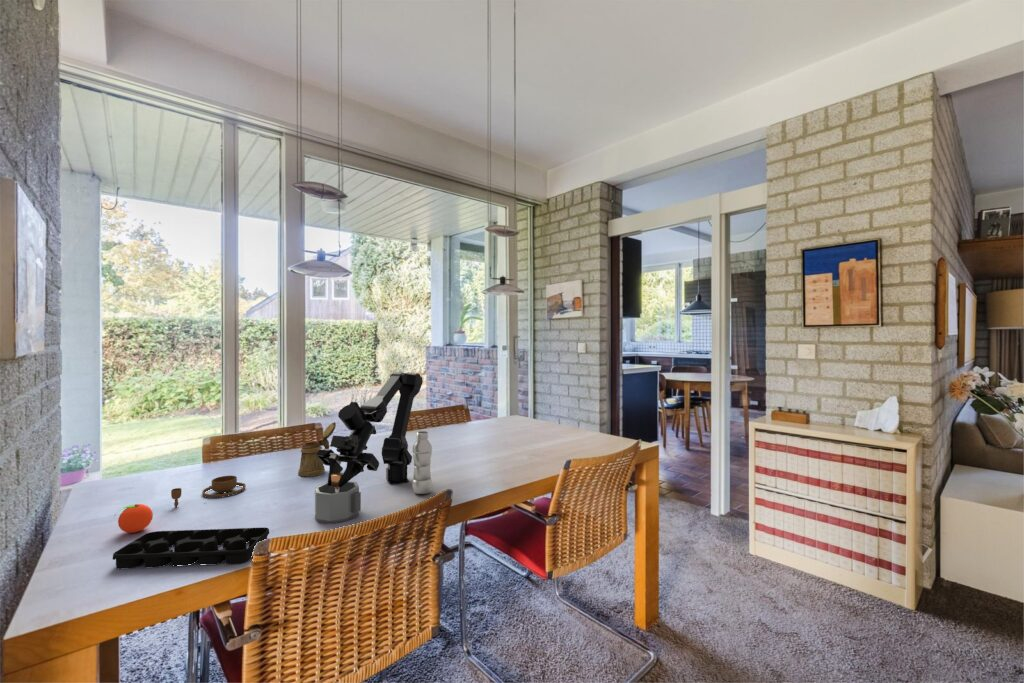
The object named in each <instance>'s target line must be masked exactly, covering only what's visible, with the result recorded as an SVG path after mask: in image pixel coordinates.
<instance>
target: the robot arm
mask: <svg viewBox="0 0 1024 683" xmlns="http://www.w3.org/2000/svg"><path fill="white" fill-rule="evenodd" d="M423 383H424V379H423V377H422V376H421V375H420V374H419V373H408V372H399V371H398V372H397V371H396V372H395V371H394V372H391V373H390V375H389V378H388V379H387V380H386V382H385V383H384V385H383V386H382V387H381V388H380V389H379V391H378V392H377V394H376V395H374V397H371V398H370V399H368V400H366V401H365V402H363V403H362V404H361V406H359V404H358V402H357V401H350V402H349V404H347V405H344V407H342V408H341V409H340V410H339V411H338V418H339V420H340V421H341V422H342V423H343V424H344V426H345V427H346V428H347V429H348V430H349V431H351V432H350V433H349V435H345V436H343V435H332V437H331V441H330V443H329V449H325V448H323V447H322V449H319V451H318V452H317V454H316V457H317V458H318V459H319V460H320V461H321V462H322V463H323V466H328V467H329V471H328V477H327V478H328V479H327V482H326V483H327V485H328V486H331V475H332V474H334V473H342V471H343V470H344V467H343V466H341V465H342V463H346V467H345V470H344V472H343V475H342V477H341V479H340V481H339V484H338V487H340V488H341V487H342V486H343V485H344V484H346V483H347V482H348V481H351V480H352V479H353V478H355V477H356V476H357V475H359V474H360V473H364V471H365V470H364V469H365V466H366V469H367V471H371V472H377V471H378V469H379V466H380V462H379V460H378V458H377V457H376V456H375V455H374V453H373V452H363V451H367V450H368V446H367V444H368V441H369V440H370V438H371V435H377V430H376V426H375V425H373V424H372V423H381V422H383V420H384V418H385V416H386V414H387V412H388V405H389V404H390V402H391V401H392V400H393V398H394V397H395V396H396V394H397V392H398V393H399V394H400V395H399V396H400V397H399V401H398V404H397V407H396V408H397V409H396V411H395V412H396V413H395V417H394V422H393V426H392V430H391V434H390V435H389V436H388V437H384V440H383V444H382V447H381V457H382V461H383V465H387V467H386V469H385V470H386V471H385V473H386V474H385V479H386V480H387V482H388V483H389V484H390V485H394V483H395V484H399V483H401V482H402V483H406V481H408V482H409V479H408V466H410V465H411V463H412V460H413V455H412V454H411V453H410V452H409V450H408V449H409V443H408V441H407V438H406V436H407V430H408V426H409V420H410V417H411V412H412V408H413V403H414V399H415V397H416V396H417V395H418V394H419V393H420V391H421V388H422V385H423ZM330 447H331V448H335V449H336V450H335V451H337V452H338V453H339V454H338V453H335V451H334V450H333V449H331V448H330Z"/></svg>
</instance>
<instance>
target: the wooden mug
mask: <svg viewBox="0 0 1024 683" xmlns="http://www.w3.org/2000/svg"><path fill="white" fill-rule="evenodd" d="M336 427H337V426H336V422H335V421H334V422H332V423H331V424H329V425H328V426H326V428H325V429H324V431H323V433H322V438H321V439H318V440H317V441H306V442H303V443H302V445H301V446H302V447H301V448H300V453H301V455H300V456H301V457H300V464H299V469H298V471H297V472H298V473H297V475H298V476H300V477H304V476H306V477H307V476H310V477H316V476H319V474H320V475H323V474H324V473H325V472H326V471H325V468H326V467H325V465H324V464H323V463H322V462H321V461H320V460H319V459H318V458H317V457H316V454H317V452H318V451H319V449H322V448H323V447H324V449H330V441H329V439H328V438H330V437H331V436H332V434H333V433H334V431H335V429H336ZM315 475H316V476H315ZM306 477H305V478H306ZM307 478H308V477H307Z"/></svg>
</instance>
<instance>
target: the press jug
mask: <svg viewBox="0 0 1024 683" xmlns="http://www.w3.org/2000/svg"><path fill="white" fill-rule="evenodd" d="M327 483H328V482H326V483H323V484H321V485H318V486H316V487H314V520H315V521H316V522H317V523H320V524H321V523H322V524H327V523H332V524H340V523H344V522H348V521H350V520H352V519H354V518H356V517H357V516H358V515H359V512H361V510H362V509H361V507H362V506H361V505H362V504H361V502H362V501H361V500H362V499H361V498H362V495H361V494H362V492H360V486H359V485H358V482H357V481H351V480H349V481H348V482H347V483H346V484H344V485H343V486H342V487H341V488H340V487H339V493H335V487H332V486H328V485H327Z"/></svg>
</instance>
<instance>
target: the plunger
mask: <svg viewBox="0 0 1024 683" xmlns="http://www.w3.org/2000/svg"><path fill="white" fill-rule="evenodd" d="M343 473H344V472H343ZM343 473H342V472H341V473H334V474H332V475H331V486H332V487H335V493H339V487H338V484H339V481H340V479H341V477H342V475H343Z"/></svg>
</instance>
